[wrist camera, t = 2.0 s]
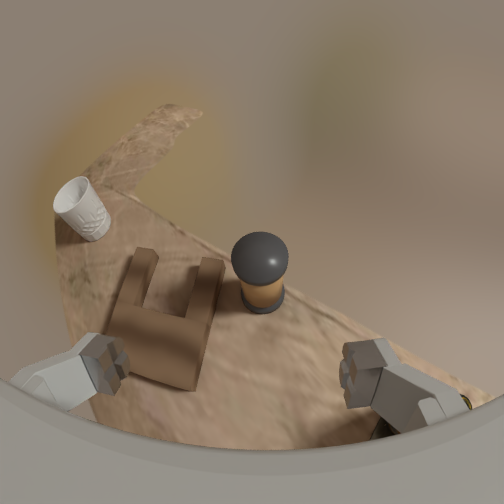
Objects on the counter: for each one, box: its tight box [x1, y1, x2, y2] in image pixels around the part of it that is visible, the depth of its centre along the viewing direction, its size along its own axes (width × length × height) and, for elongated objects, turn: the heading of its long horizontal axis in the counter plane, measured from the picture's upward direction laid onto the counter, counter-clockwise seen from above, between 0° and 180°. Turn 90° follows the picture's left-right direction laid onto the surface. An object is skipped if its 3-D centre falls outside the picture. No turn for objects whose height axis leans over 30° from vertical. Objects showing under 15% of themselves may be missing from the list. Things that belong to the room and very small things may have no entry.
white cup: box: [53, 176, 111, 242], centre depth 41 cm, size 8×8×10 cm
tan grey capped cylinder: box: [231, 232, 288, 314], centre depth 33 cm, size 7×6×11 cm
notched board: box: [106, 247, 226, 391], centre depth 35 cm, size 18×14×2 cm
